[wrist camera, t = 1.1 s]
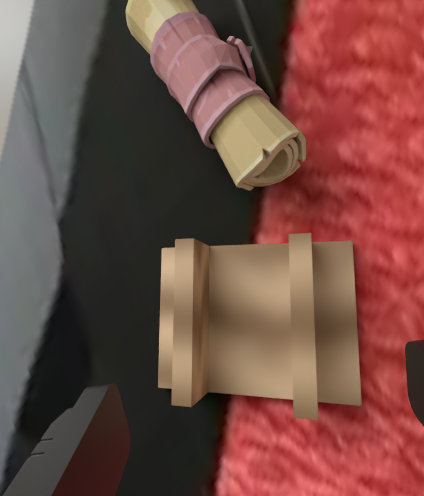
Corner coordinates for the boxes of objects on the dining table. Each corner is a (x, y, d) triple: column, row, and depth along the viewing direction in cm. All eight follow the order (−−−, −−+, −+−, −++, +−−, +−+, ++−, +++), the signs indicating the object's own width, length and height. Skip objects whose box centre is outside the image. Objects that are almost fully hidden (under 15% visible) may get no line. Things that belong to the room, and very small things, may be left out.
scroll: (335, 143, 27) (214, -13, 32) (296, 126, 21) (156, -61, 27) (267, 203, 31) (170, 56, 37) (218, 202, 25) (111, 27, 31)
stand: (166, 249, 31) (140, 241, 27) (351, 242, 27) (358, 230, 22) (163, 384, 30) (134, 401, 25) (359, 401, 25) (370, 425, 20)
